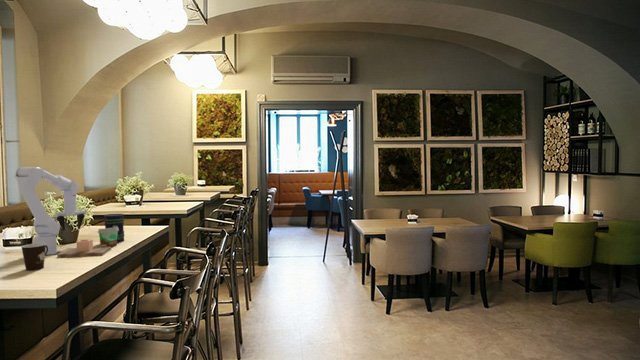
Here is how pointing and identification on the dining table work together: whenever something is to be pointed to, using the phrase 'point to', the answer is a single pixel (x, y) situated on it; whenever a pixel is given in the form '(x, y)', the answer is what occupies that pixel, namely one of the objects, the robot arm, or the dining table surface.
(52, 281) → the dining table surface
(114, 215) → the storage jar
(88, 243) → the collar
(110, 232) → the food container
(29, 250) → the coffee mug
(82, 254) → the board
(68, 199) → the robot arm
